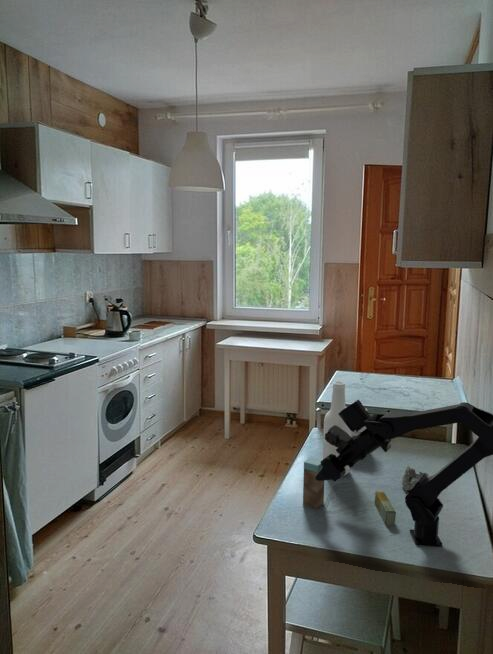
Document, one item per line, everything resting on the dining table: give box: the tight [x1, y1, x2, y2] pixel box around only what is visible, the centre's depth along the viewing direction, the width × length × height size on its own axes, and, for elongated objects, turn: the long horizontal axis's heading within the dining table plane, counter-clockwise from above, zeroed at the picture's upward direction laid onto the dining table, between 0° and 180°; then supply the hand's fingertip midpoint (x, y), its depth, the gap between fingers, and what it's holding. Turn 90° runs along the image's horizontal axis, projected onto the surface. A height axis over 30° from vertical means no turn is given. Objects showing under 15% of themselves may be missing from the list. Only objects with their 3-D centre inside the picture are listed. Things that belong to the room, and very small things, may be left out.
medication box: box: [374, 490, 397, 527], centre depth 140 cm, size 12×3×4 cm, turn 0°
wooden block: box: [302, 456, 325, 510], centre depth 145 cm, size 4×4×13 cm
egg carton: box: [401, 465, 431, 492], centre depth 157 cm, size 11×8×4 cm
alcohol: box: [322, 381, 351, 477], centre depth 165 cm, size 9×9×30 cm
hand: (323, 473), depth 143 cm, fingers open, 9 cm apart
